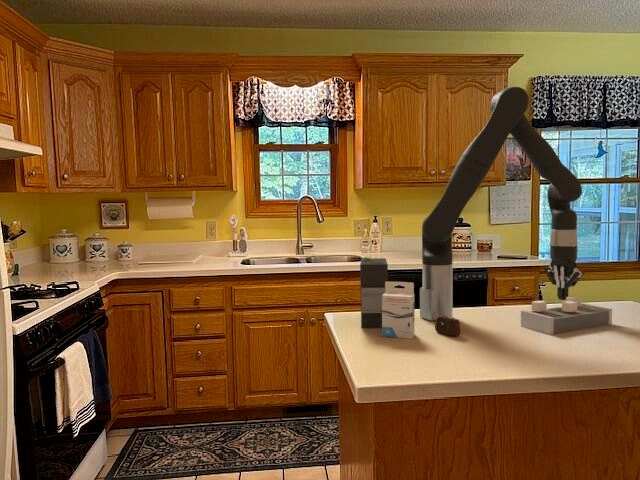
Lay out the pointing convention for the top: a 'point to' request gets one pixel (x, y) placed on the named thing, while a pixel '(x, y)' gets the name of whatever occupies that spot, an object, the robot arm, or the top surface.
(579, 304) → the switch
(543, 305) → the switch
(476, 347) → the top surface
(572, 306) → the switch
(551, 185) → the robot arm
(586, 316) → the power strip
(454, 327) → the stone
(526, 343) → the top surface
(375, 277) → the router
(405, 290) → the ink box
